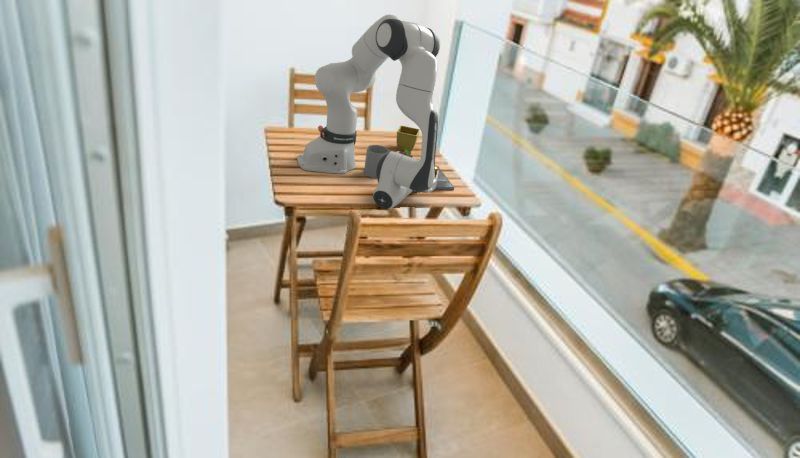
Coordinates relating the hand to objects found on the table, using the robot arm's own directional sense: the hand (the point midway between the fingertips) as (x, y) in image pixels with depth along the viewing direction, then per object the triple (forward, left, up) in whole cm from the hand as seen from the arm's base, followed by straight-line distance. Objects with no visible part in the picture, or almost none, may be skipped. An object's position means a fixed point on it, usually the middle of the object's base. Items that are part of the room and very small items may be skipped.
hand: (416, 170), depth 190 cm
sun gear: (+11, +12, -7) cm, 17 cm away
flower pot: (+8, +36, -7) cm, 37 cm away
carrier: (+10, +7, -7) cm, 14 cm away
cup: (-12, +12, -7) cm, 18 cm away
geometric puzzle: (+2, +20, -7) cm, 21 cm away
